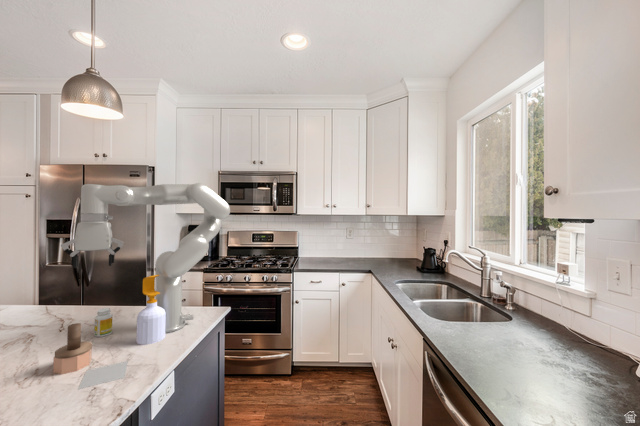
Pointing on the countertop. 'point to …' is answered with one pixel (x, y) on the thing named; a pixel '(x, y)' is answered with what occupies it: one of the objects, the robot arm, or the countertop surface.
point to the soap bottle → (150, 316)
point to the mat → (103, 374)
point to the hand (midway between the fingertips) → (93, 266)
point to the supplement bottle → (103, 323)
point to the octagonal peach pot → (72, 363)
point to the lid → (73, 343)
